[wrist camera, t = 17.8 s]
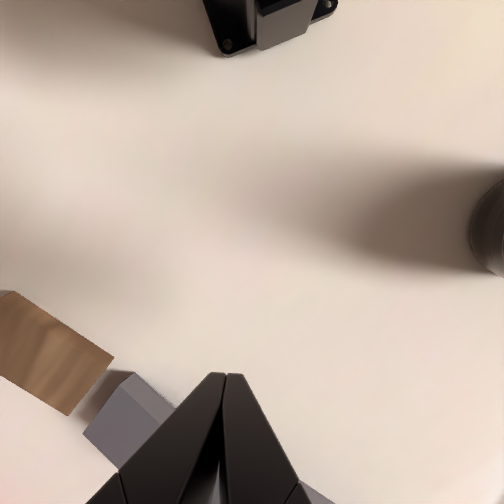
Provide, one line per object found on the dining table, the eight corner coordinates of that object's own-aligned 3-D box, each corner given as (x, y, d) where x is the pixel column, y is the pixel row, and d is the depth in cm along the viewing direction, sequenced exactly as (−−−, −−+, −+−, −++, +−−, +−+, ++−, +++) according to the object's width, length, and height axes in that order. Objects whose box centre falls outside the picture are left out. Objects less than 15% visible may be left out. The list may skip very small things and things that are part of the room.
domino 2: (82, 433, 22) (166, 516, 21) (118, 384, 21) (209, 470, 20) (100, 417, 23) (178, 494, 23) (134, 372, 22) (218, 450, 21)
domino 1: (-37, 352, 21) (67, 416, 22) (-2, 298, 20) (105, 369, 21) (-14, 338, 22) (81, 398, 24) (19, 288, 21) (117, 353, 23)
